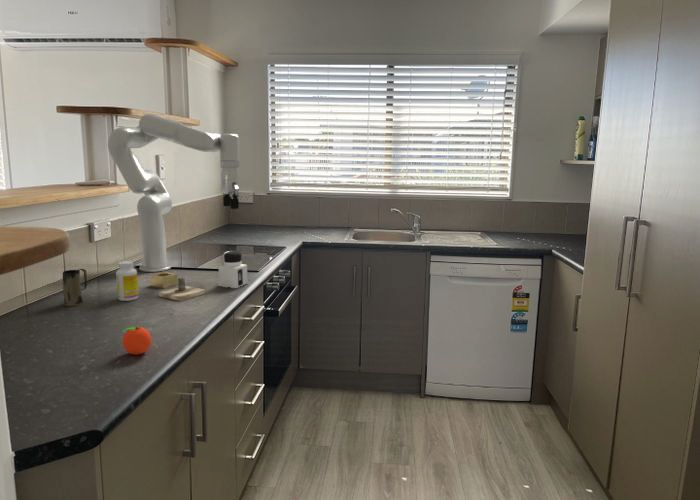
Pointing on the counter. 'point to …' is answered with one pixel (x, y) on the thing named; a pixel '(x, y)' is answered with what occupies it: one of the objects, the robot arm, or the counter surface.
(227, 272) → the container
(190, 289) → the post stand
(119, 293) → the supplement bottle
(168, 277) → the collar
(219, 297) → the counter surface
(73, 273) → the mug
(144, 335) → the clementine
